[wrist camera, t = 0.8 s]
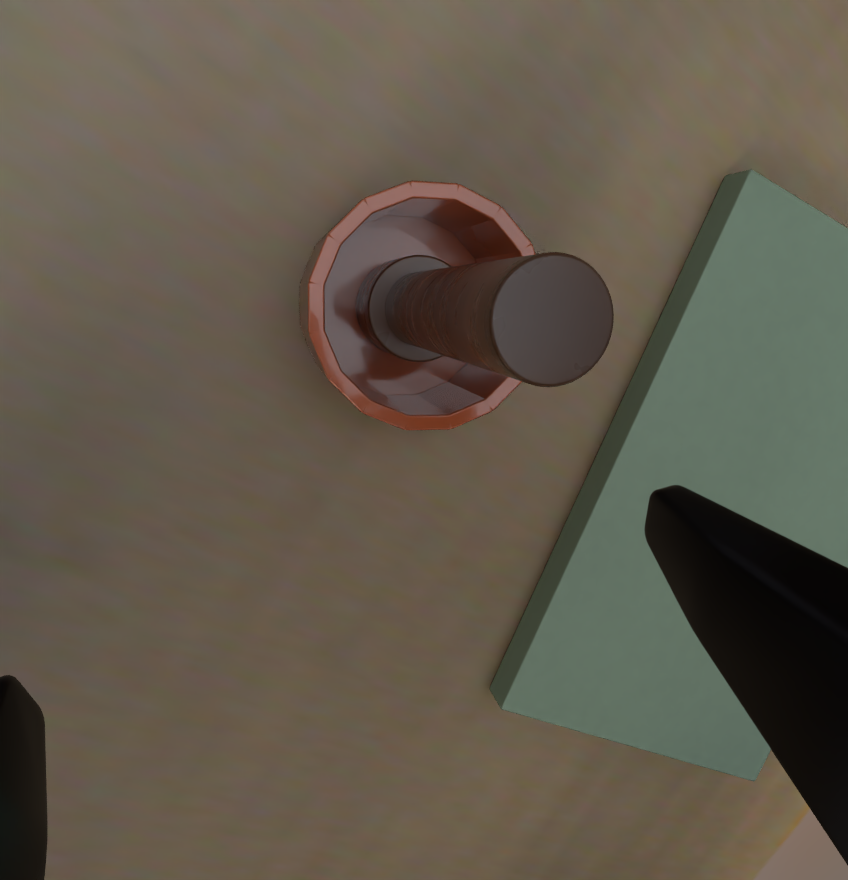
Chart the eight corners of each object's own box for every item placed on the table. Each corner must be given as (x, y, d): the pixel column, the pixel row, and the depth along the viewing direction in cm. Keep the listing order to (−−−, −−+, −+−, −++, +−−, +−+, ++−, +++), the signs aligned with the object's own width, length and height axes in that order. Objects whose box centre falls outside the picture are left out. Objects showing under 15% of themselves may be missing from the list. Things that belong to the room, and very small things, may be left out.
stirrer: (424, 368, 24) (593, 444, 12) (340, 332, 24) (428, 373, 11) (461, 283, 24) (672, 271, 12) (377, 243, 23) (510, 183, 11)
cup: (445, 432, 26) (488, 463, 21) (268, 360, 24) (269, 376, 19) (522, 257, 25) (583, 248, 20) (345, 168, 23) (367, 135, 18)
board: (733, 760, 32) (755, 782, 31) (488, 688, 28) (500, 709, 27) (957, 315, 30) (992, 316, 28) (724, 175, 26) (751, 168, 25)
